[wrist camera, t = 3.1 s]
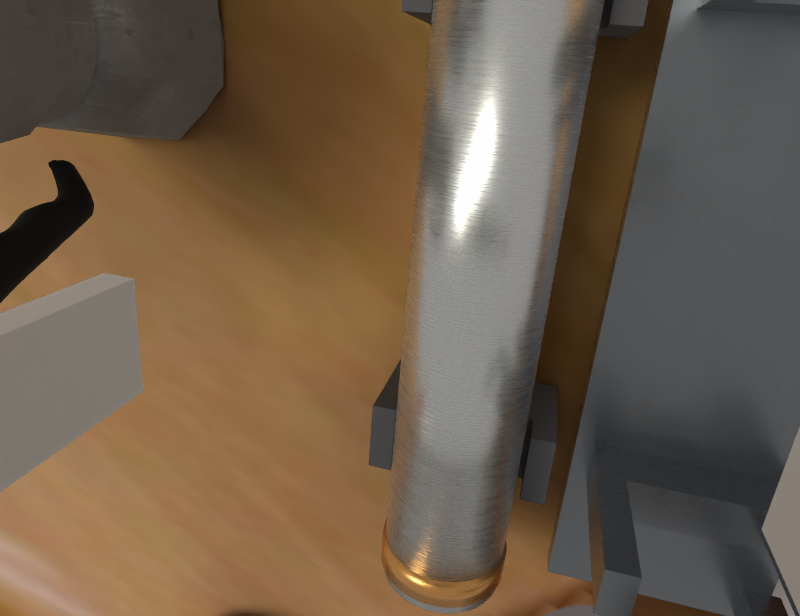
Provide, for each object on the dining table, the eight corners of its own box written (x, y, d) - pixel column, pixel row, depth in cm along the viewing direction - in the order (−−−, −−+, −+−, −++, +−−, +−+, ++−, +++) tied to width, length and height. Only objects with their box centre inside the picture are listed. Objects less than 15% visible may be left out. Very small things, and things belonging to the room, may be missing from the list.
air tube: (468, -214, 19) (435, -315, 14) (644, -216, 18) (673, -327, 13) (398, 512, 29) (365, 595, 24) (506, 538, 28) (494, 630, 23)
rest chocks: (440, -61, 23) (409, -96, 19) (645, -53, 22) (667, -90, 17) (397, 409, 31) (368, 465, 26) (547, 440, 29) (544, 504, 25)
